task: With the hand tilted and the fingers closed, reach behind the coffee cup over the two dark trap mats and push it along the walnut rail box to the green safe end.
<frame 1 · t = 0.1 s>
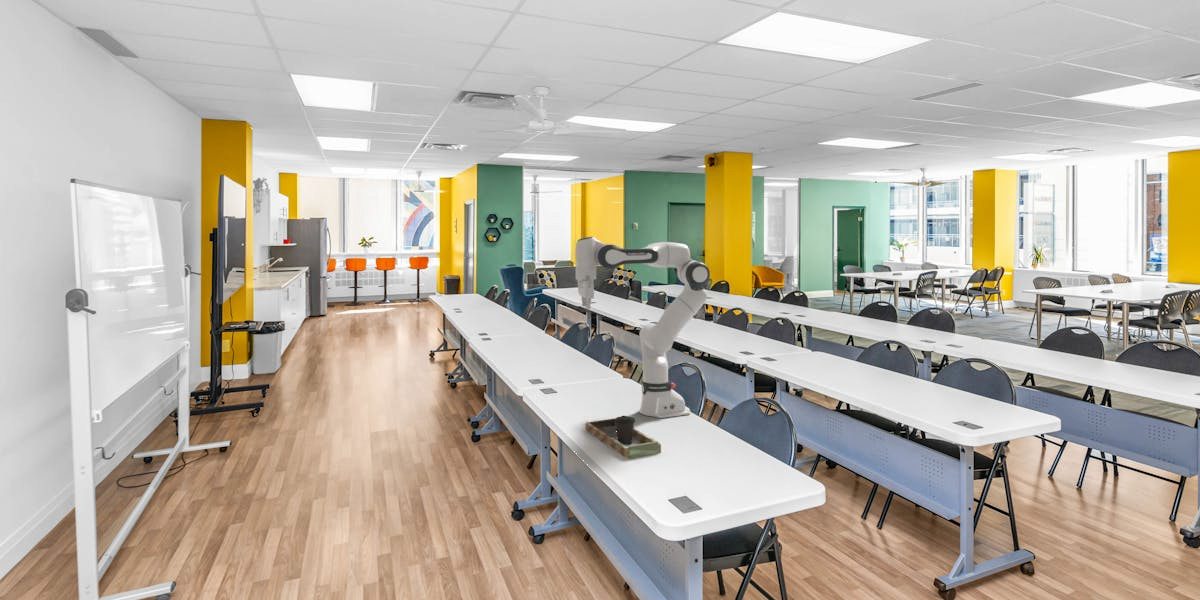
hand: (586, 307, 270), 48 cm above the table, tool pointing down, fingers open, 8 cm apart
coffee cup: (624, 443, 241), resting in trap box
trap box: (621, 440, 244), on the table
trap mats: (609, 432, 253), resting in trap box
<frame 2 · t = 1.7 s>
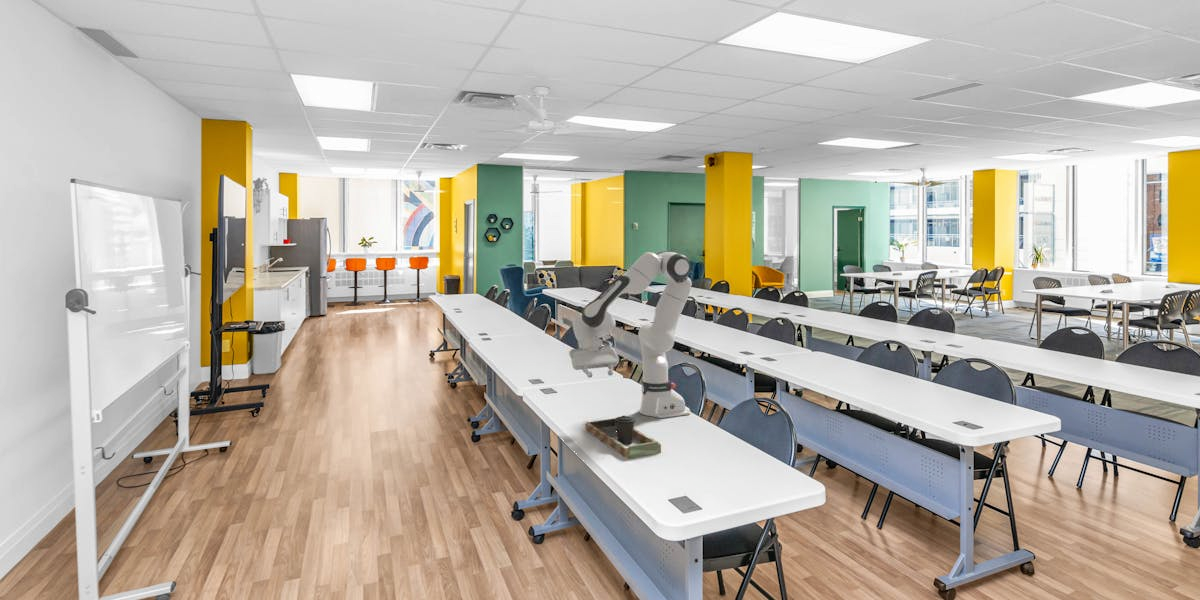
hand: (600, 375, 257), 22 cm above the table, tool tilted 45°, fingers open, 8 cm apart
nothing on the table moved.
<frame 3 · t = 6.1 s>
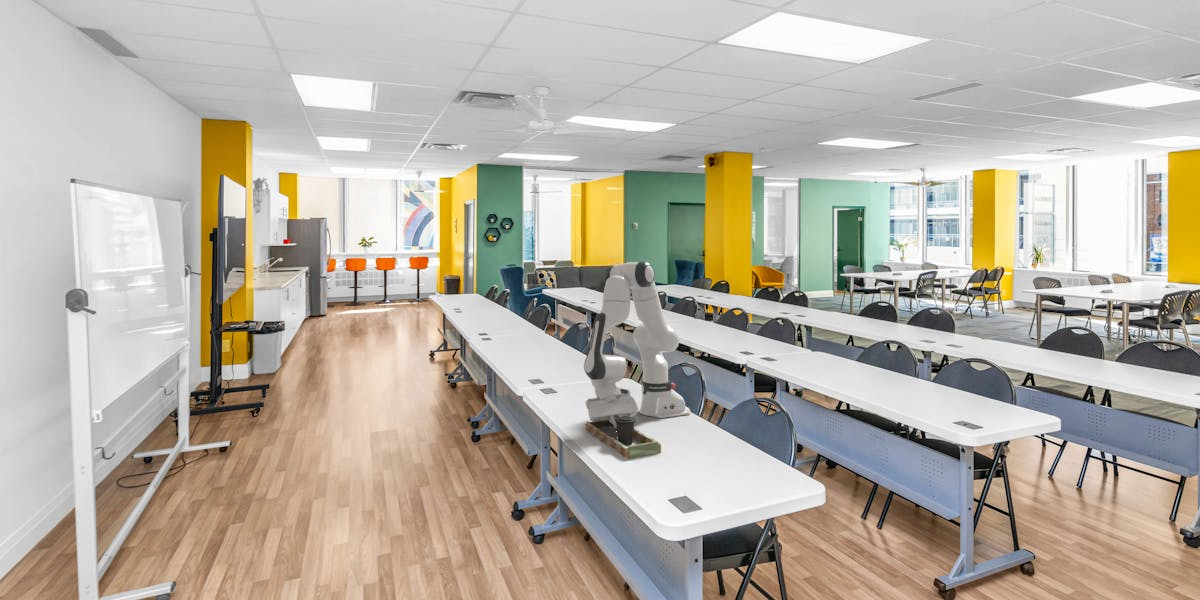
hand: (619, 427, 244), 5 cm above the table, tool tilted 45°, fingers closed, pressing on coffee cup
coffee cup: (625, 443, 241), resting in trap box, touching gripper
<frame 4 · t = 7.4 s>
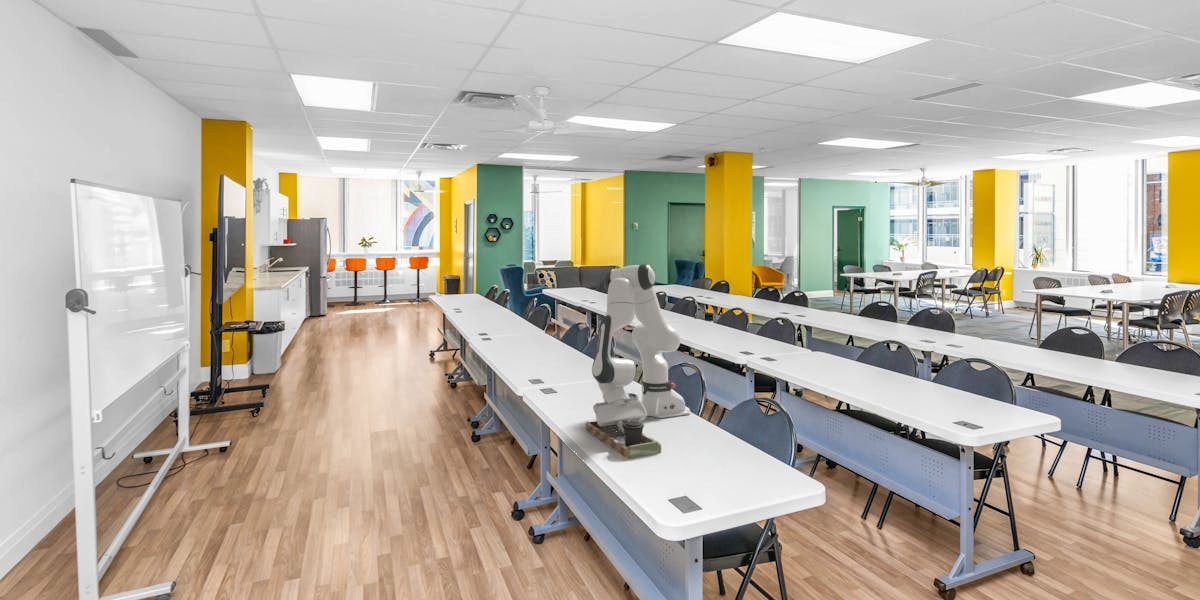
hand: (627, 432, 238), 5 cm above the table, tool tilted 45°, fingers closed, pressing on coffee cup
coffee cup: (633, 449, 234), resting in trap box, touching gripper
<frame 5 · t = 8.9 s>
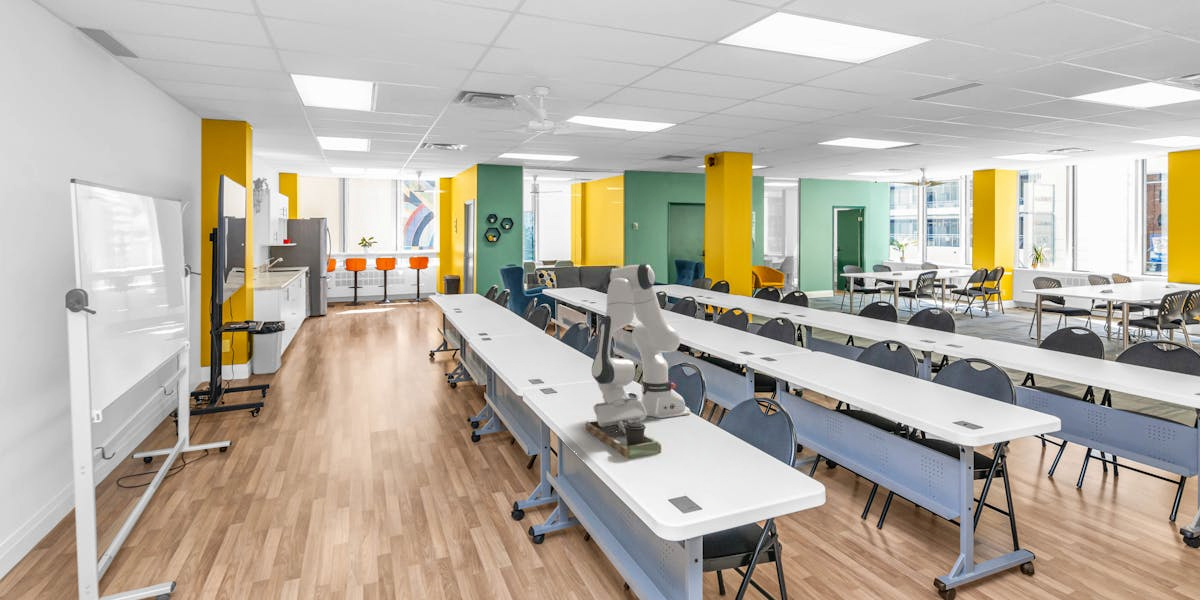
hand: (628, 432, 239), 5 cm above the table, tool tilted 45°, fingers closed
coffee cup: (634, 450, 233), resting in trap box
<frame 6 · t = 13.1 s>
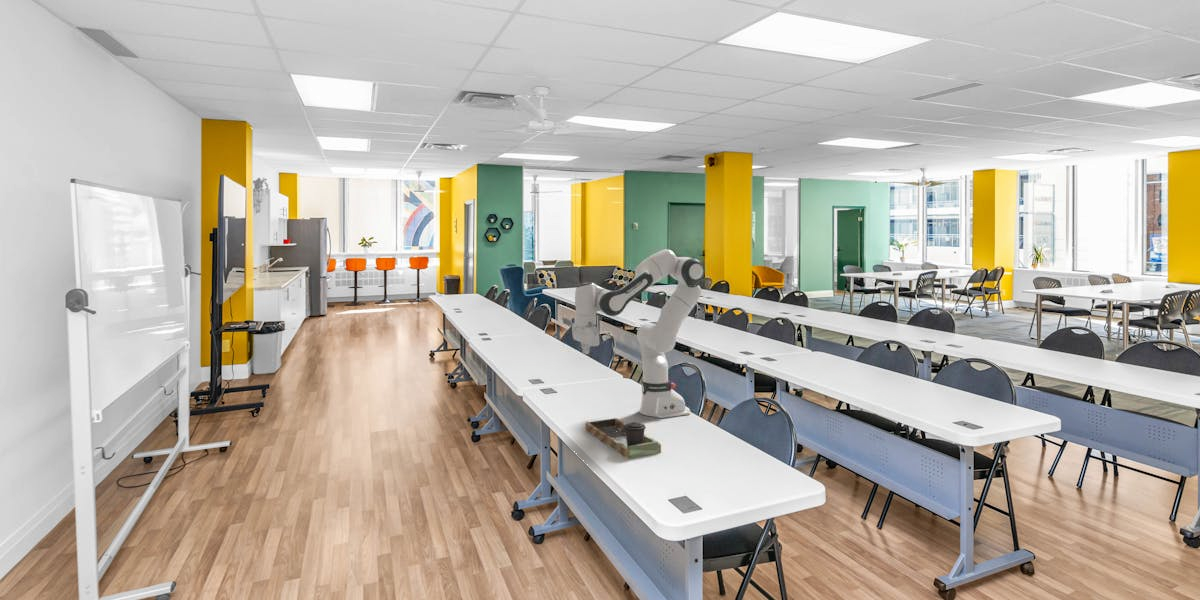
hand: (585, 353, 266), 29 cm above the table, tool pointing down, fingers closed
nothing on the table moved.
at the end: coffee cup inside the target area (0.9 cm from its centre), resting in trap box; coffee cup tilted 0°; coffee cup moved 9.0 cm from its start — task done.
